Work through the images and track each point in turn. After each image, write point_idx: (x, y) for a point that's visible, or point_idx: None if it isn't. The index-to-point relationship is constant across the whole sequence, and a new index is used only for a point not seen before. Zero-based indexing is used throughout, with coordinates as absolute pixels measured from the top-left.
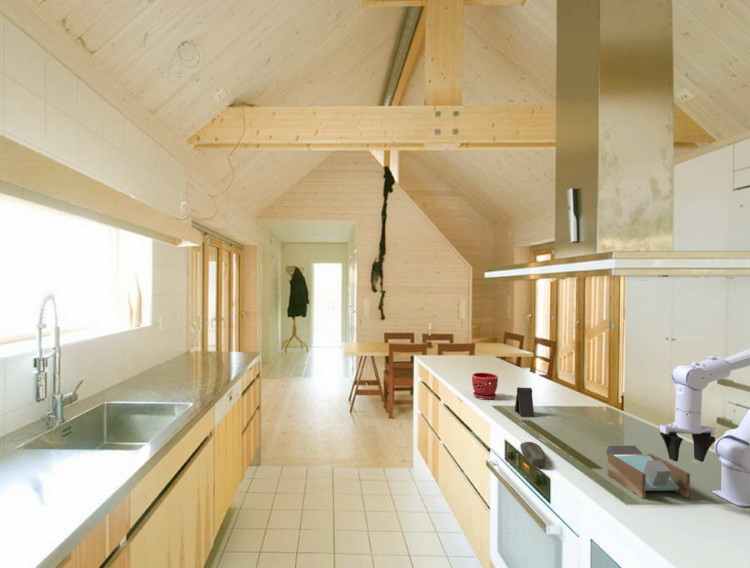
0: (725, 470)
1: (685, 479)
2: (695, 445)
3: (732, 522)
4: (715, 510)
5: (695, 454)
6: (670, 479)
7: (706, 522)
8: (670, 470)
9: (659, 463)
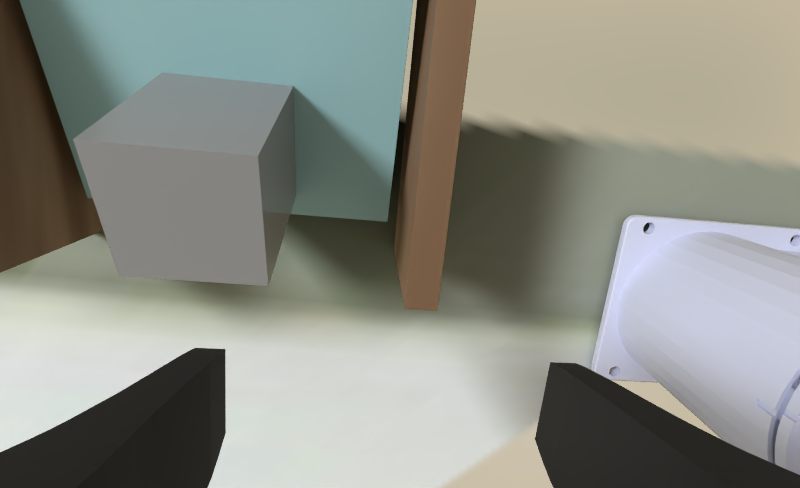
0: (747, 384)
1: (401, 279)
2: (663, 483)
3: (395, 478)
4: (425, 384)
5: (575, 400)
6: (381, 154)
7: (262, 469)
8: (265, 279)
9: (206, 194)
